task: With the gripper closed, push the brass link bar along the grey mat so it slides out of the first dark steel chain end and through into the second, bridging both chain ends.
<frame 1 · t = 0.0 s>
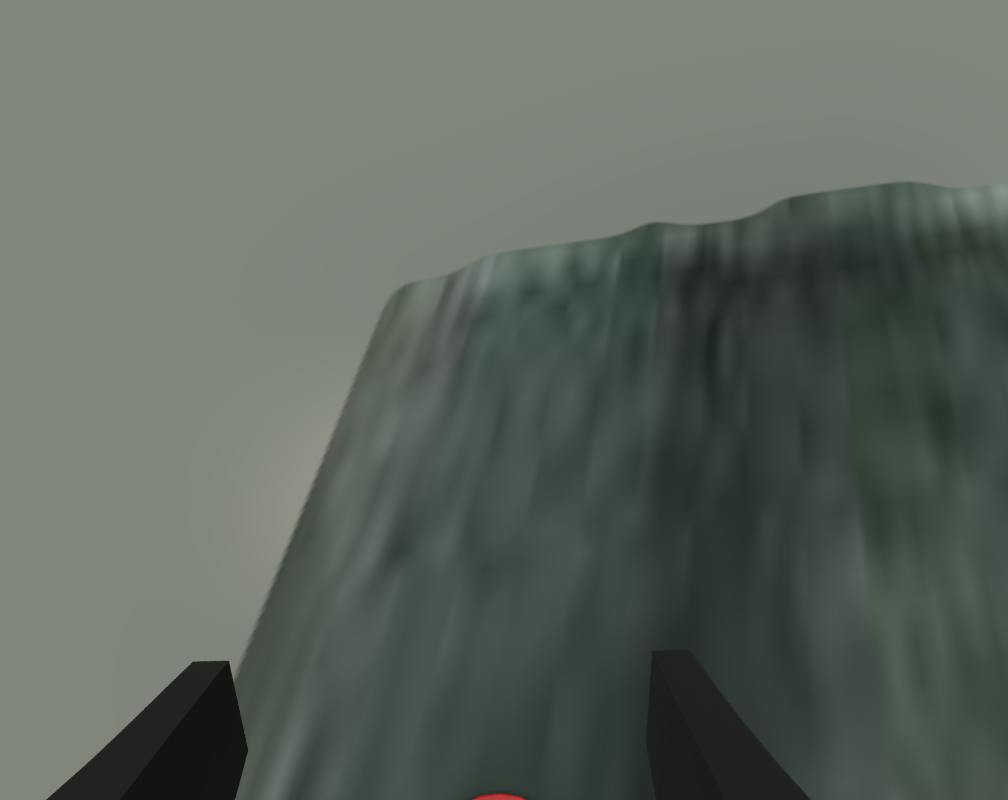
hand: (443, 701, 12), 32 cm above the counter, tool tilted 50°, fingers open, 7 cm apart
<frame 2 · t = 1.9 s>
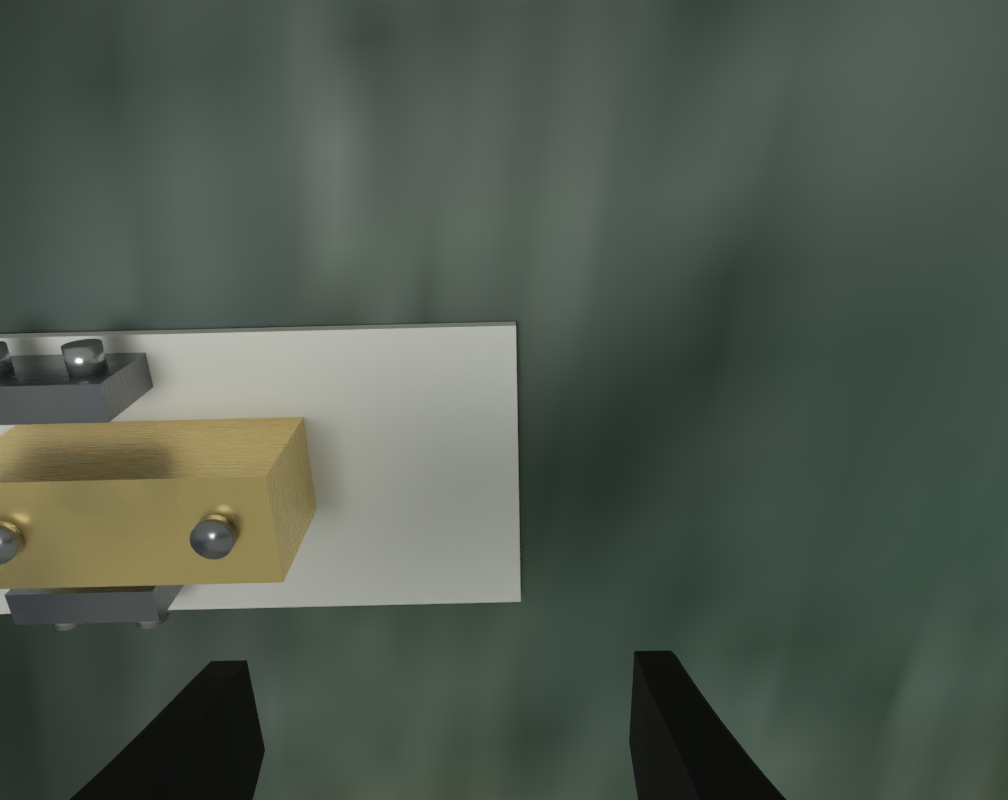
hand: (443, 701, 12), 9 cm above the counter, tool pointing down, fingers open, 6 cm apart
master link: (171, 467, 20), resting on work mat
chain end a: (102, 469, 21), resting on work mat
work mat: (130, 477, 21), on the counter
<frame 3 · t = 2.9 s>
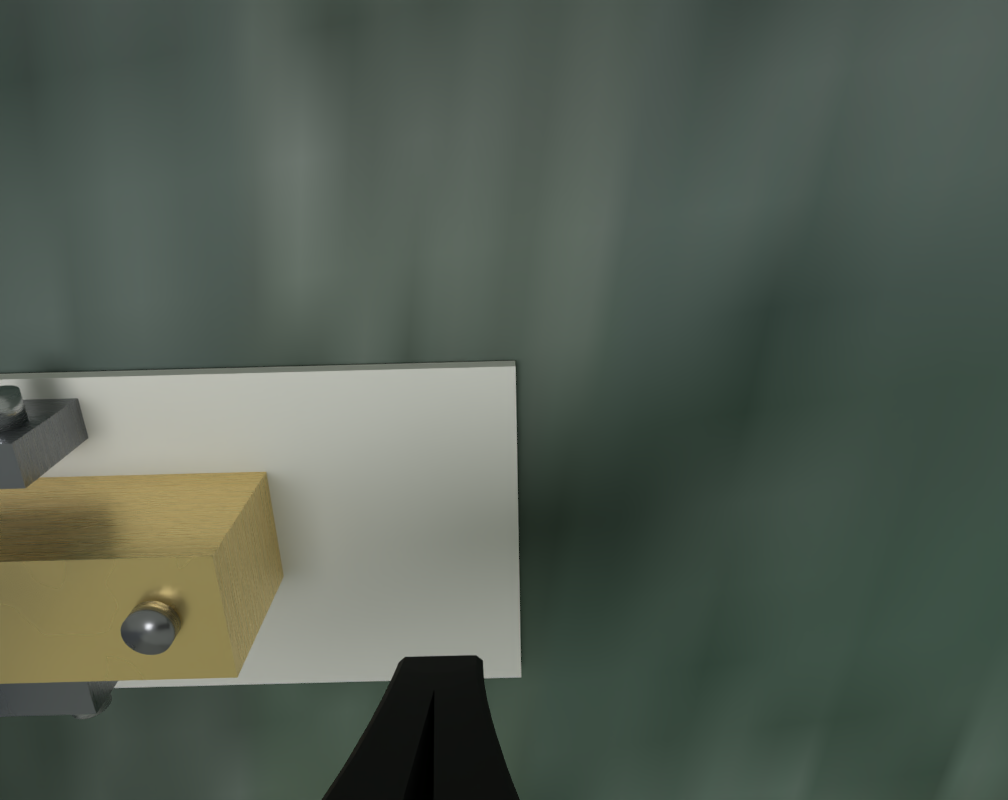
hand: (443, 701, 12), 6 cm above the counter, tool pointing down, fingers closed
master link: (113, 529, 18), resting on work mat
chain end a: (32, 531, 18), resting on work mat
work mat: (66, 539, 18), on the counter
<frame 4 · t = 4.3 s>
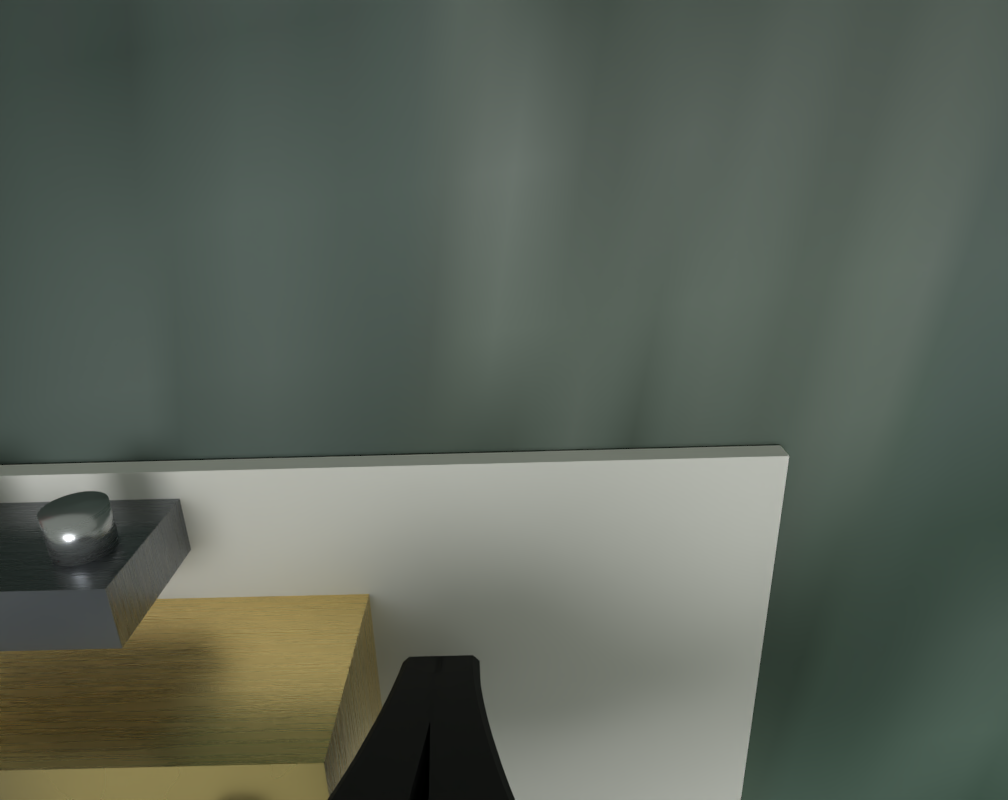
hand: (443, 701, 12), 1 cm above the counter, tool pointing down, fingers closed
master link: (159, 666, 13), resting on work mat, touching gripper
chain end a: (108, 667, 13), resting on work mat
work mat: (151, 672, 14), on the counter
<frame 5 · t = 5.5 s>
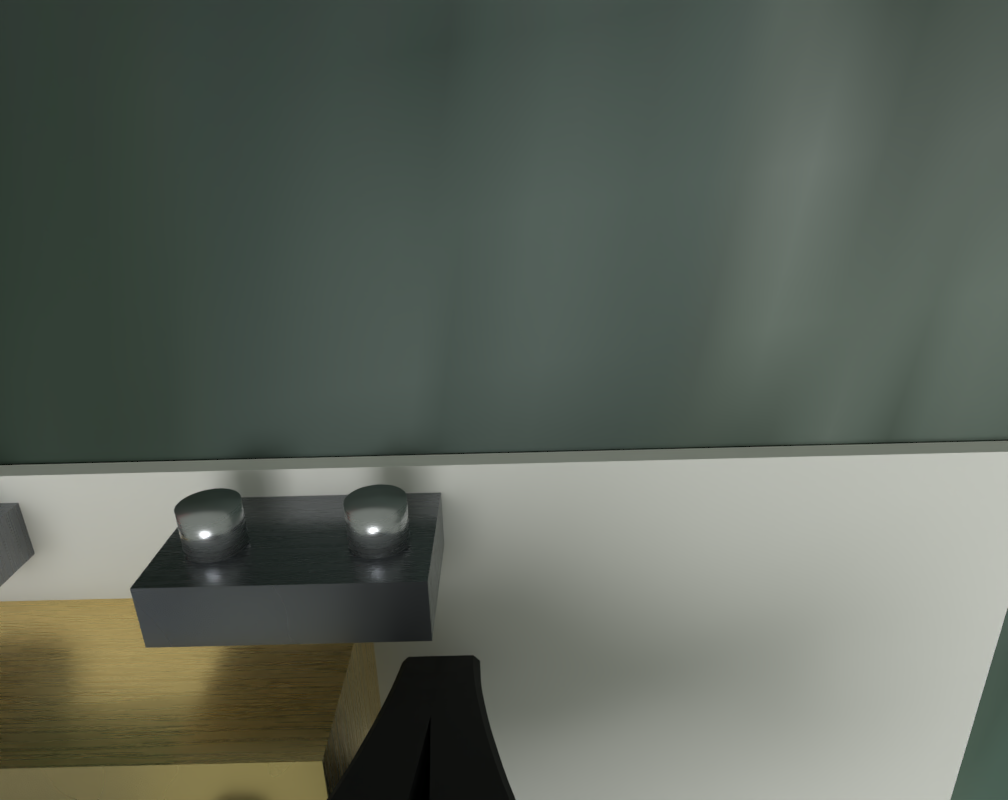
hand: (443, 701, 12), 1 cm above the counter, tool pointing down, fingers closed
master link: (158, 665, 13), resting on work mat, touching gripper
chain end a: (343, 661, 13), resting on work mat
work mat: (376, 666, 14), on the counter
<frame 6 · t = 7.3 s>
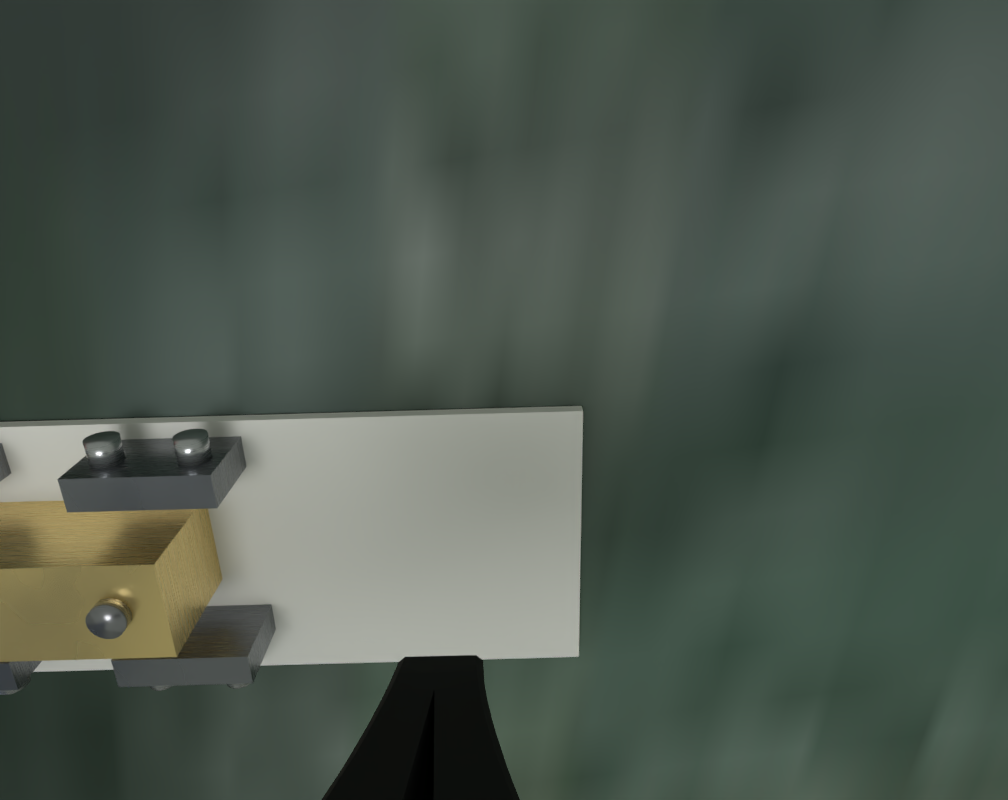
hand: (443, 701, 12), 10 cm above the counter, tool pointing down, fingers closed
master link: (85, 542, 22), resting on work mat
chain end a: (195, 540, 22), resting on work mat
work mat: (218, 546, 23), on the counter
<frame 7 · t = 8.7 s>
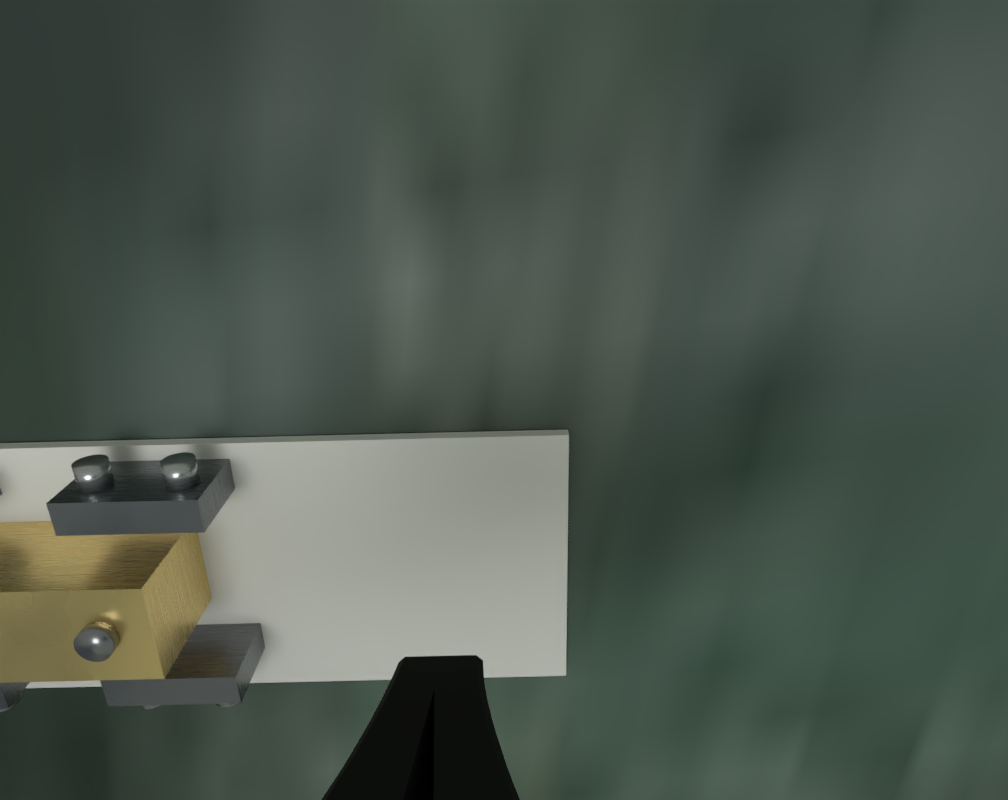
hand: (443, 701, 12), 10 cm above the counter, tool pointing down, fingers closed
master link: (75, 561, 22), resting on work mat
chain end a: (184, 560, 22), resting on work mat
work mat: (208, 565, 23), on the counter
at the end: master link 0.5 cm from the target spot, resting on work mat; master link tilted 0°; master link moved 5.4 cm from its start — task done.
